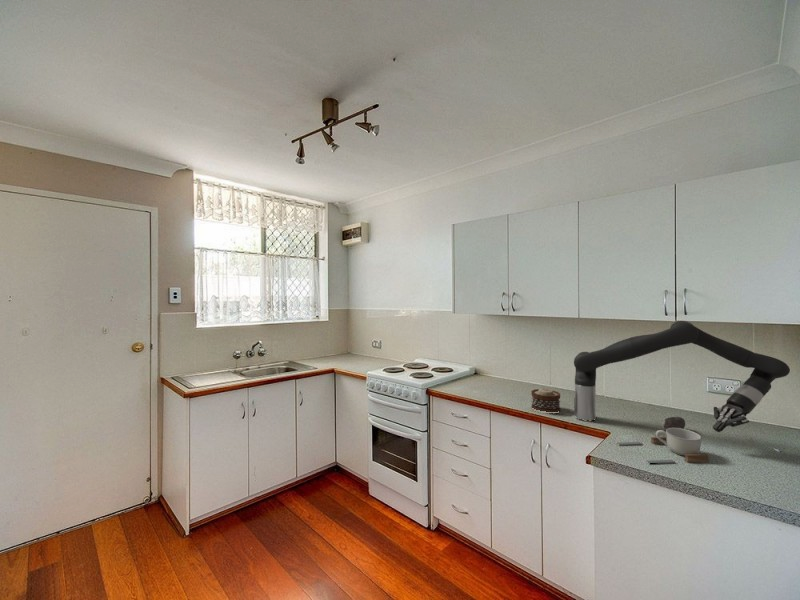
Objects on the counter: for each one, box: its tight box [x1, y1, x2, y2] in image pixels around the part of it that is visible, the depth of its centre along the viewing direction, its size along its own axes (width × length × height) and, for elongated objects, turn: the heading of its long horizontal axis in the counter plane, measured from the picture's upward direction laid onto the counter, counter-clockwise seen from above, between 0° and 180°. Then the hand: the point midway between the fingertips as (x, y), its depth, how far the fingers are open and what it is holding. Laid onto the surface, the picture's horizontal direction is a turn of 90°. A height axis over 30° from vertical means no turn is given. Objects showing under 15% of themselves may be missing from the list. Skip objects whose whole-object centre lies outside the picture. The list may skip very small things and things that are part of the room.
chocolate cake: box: [530, 388, 561, 412], centre depth 190 cm, size 15×11×15 cm
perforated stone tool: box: [663, 416, 686, 432], centre depth 158 cm, size 15×5×7 cm, turn 118°
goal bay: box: [616, 441, 676, 465], centre depth 137 cm, size 18×10×1 cm, turn 4°
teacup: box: [655, 428, 702, 457], centre depth 138 cm, size 14×11×8 cm
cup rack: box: [650, 436, 709, 464], centre depth 138 cm, size 17×8×2 cm, turn 4°
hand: (715, 430), depth 139 cm, fingers closed
